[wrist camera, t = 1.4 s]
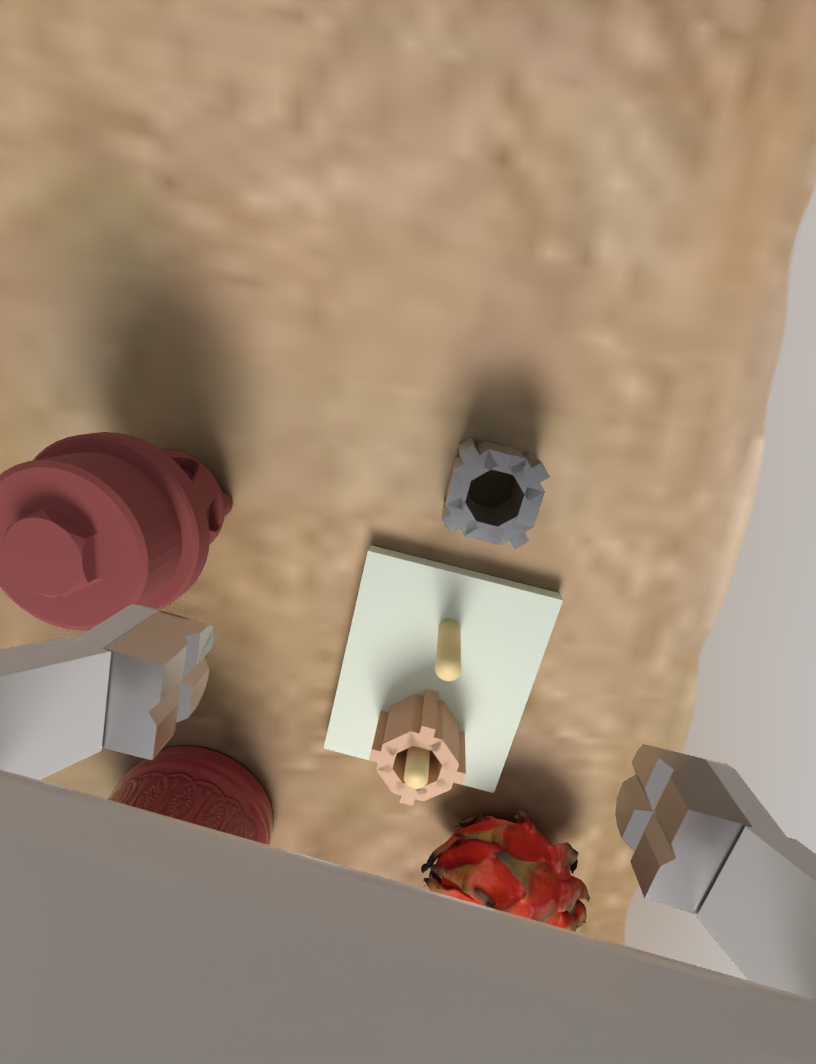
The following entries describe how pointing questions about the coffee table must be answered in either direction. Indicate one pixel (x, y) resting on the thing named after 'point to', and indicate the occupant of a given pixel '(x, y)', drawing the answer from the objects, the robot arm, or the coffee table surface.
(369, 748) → the gear board
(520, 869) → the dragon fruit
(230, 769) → the canister
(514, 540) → the loose gear
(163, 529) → the mechanical component
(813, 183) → the coffee table surface
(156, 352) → the coffee table surface
